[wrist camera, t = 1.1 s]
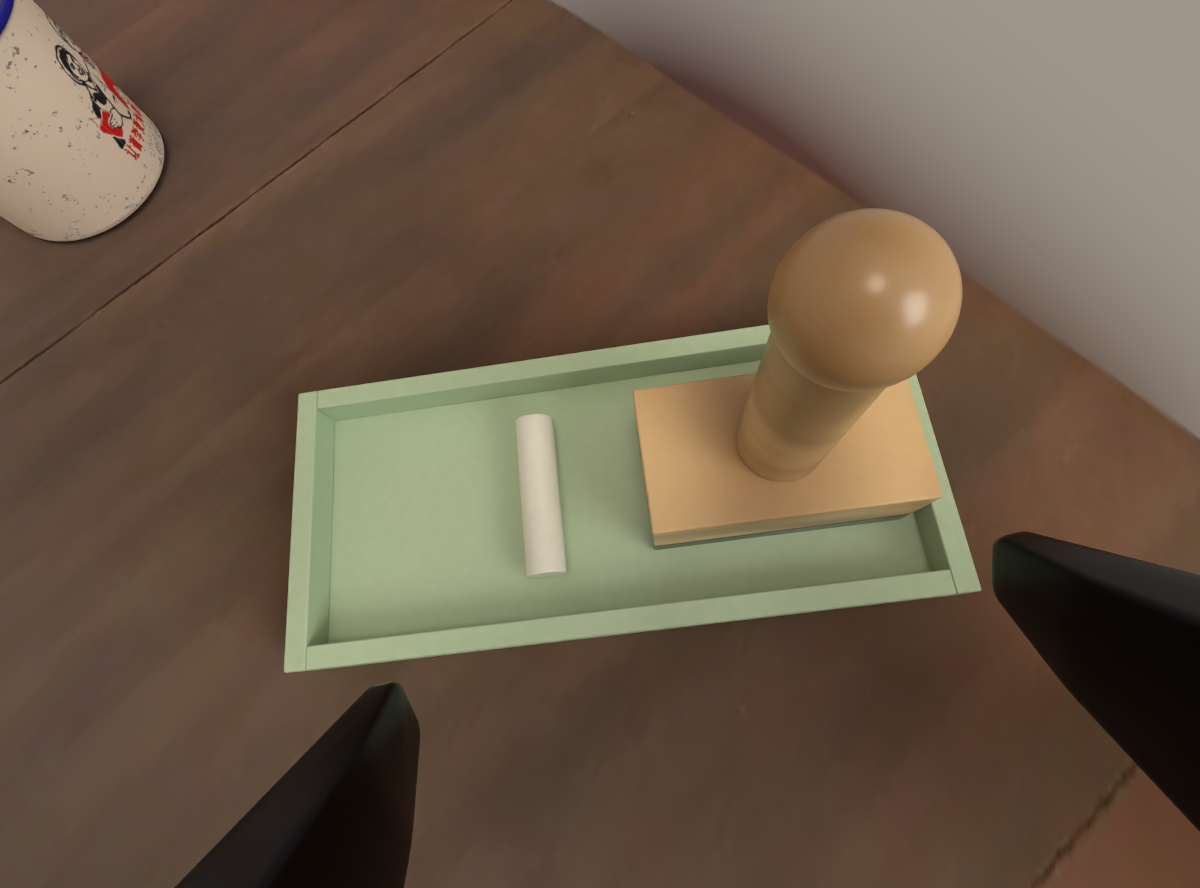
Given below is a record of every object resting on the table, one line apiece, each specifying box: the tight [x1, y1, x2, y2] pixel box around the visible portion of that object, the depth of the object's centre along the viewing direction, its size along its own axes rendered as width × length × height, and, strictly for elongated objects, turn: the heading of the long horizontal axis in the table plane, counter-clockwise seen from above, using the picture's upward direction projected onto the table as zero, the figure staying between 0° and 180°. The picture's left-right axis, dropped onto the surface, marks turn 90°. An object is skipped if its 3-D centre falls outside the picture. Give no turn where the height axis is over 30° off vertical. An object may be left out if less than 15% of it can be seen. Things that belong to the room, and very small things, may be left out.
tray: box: [284, 325, 981, 673], centre depth 23 cm, size 24×11×2 cm, turn 97°
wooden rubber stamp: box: [633, 208, 963, 550], centre depth 16 cm, size 9×5×14 cm, turn 97°
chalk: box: [515, 414, 567, 578], centre depth 23 cm, size 6×2×2 cm
